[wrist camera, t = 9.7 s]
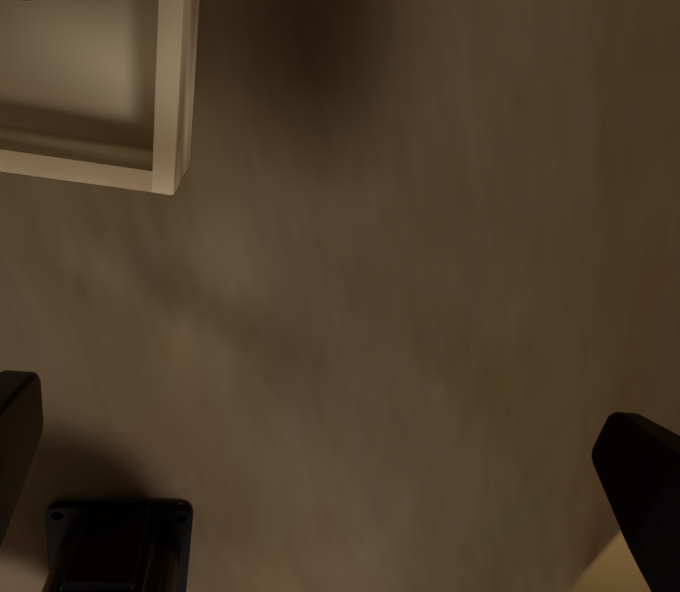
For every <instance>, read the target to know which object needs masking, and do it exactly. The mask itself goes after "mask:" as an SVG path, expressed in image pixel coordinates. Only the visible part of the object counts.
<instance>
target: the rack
mask: <svg viewBox="0 0 680 592" xmlns="http://www.w3.org/2000/svg"><path fill="white" fill-rule="evenodd" d="M199 8H200V0H28V1H23V0H0V171H2V172H9V173H16V174H24V175H31V176H38V177H45V178H53V179H60V180H67V181H74V182H82V183H89V184H96V185H104V186H111V187H118V188H125V189H133V190H140V191H147V192H154V193H162V194H169V195H174V193H175V191H176V189H177V187H178V185H179V184H180V182H181V180H182V178H183V176H184V174H185V172H186V170H187V168H188V166H189V163H190V148H191V132H192V117H193V101H194V86H195V70H196V55H197V39H198V24H199Z"/></svg>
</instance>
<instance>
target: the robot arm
mask: <svg viewBox="0 0 680 592" xmlns="http://www.w3.org/2000/svg"><path fill="white" fill-rule="evenodd" d="M42 428H43V410H42V395H41V382H40V378H39V376H38V375H37V374H36V373H35V372H25V371H11V370H6V371H2V372H0V545H1V543H2V541H3V539H4V536H5V534H6V531H7V528H8V526H9V523H10V520H11V518H12V515H13V512H14V509H15V507H16V504H17V501H18V498H19V495H20V493H21V490H22V487H23V484H24V482H25V479H26V476H27V473H28V470H29V468H30V465H31V462H32V459H33V457H34V454H35V451H36V448H37V445H38V443H39V440H40V437H41V433H42ZM592 461H593V465H594V467H595V469H596V472H597V474H598V477H599V479H600V481H601V484H602V486H603V489H604V491H605V493H606V496H607V498H608V501H609V503H610V505H611V508H612V510H613V512H614V515H615V517H616V520H617V522H618V524H619V527H620V529H621V532H622V534H623V536H624V538H625V541H626V543H627V545H628V547H629V549H630V551H631V553H632V555H633V557H634V559H635V561H636V563H637V565H638V567H639V569H640V571H641V573H642V575H643V577H644V579H645V581H646V582H647V584H648V586H649V588H650V590H651V592H680V436H679V435H677V434H675V433H673V432H672V431H670V430H668V429H666V428H664V427H662V426H660V425H658V424H656V423H655V422H653V421H651V420H649V419H647V418H645V417H643V416H641V415H639V414H636V413H625V412H615V413H612V414H611V415H610V416H609V417H608V418H607V420H606V422H605V424H604V426H603V428H602V430H601V432H600V434H599V436H598V438H597V440H596V442H595V444H594V447H593V449H592ZM57 512H60V513H57ZM181 515H184V516H181ZM45 518H46V534H47V549H48V564H49V574H48V576H47V579H46V582H45V584H44V587H43V589H42V592H186V586H187V575H188V564H189V553H190V543H191V532H192V521H193V509H192V508H191V507H190V506H188V505H184V504H148V503H109V502H69V501H58V502H54V503H51V504H50V506H49V507H48V510H47V512H46V515H45Z"/></svg>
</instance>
